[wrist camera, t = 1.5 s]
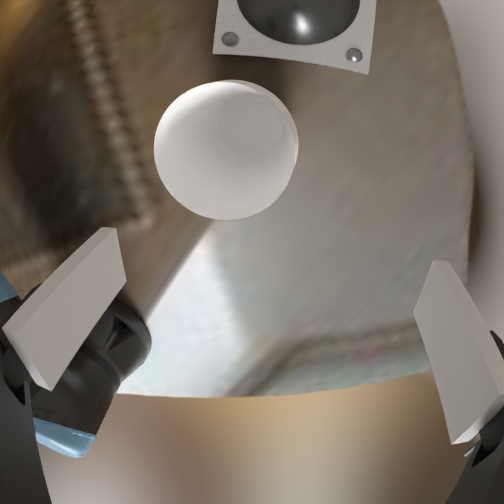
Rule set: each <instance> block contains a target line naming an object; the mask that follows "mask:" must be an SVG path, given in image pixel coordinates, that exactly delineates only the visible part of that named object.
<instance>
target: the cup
mask: <svg viewBox="0 0 504 504" xmlns="http://www.w3.org/2000/svg"><path fill="white" fill-rule="evenodd" d="M297 154H298V135H297V130H296V126H295V123H294V121H293V118H292V116H291V114H290V113H289V111H288V109H287V108H286V107H285V105H284V104H283V103H282V102H281V101H280V100H279V99H278V98H277V97H276V96H275V95H274V94H273V93H271V92H270V91H268V90H267V89H265V88H263V87H261V86H259V85H256V84H254V83H251V82H247V81H242V80H221V81H216V82H213V83H208V84H204V85H200V86H198V87H195V88H193V89H191V90H189V91H187V92H185V93H184V94H182V95H181V96H180V97H178V98H177V99H176V100H175V101H174V102H173V103H172V104H171V105H170V106H169V107H168V109H167V110H166V111H165V113H164V115H163V116H162V118H161V120H160V122H159V125H158V127H157V130H156V135H155V140H154V158H155V163H156V167H157V171H158V173H159V176H160V178H161V180H162V182H163V184H164V185H165V187H166V188H167V190H168V191H169V192H170V194H171V195H172V196H173V197H174V198H175V199H176V200H177V201H178V202H179V203H181V204H182V205H183V206H184V207H186V208H187V209H189V210H191V211H193V212H194V213H197V214H199V215H201V216H204V217H208V218H212V219H217V220H237V219H242V218H246V217H250V216H252V215H255V214H257V213H259V212H261V211H263V210H264V209H266V208H267V207H269V206H270V205H271V204H272V203H274V202H275V201H276V200H277V199H278V197H279V196H280V195H281V194H282V192H283V191H284V189H285V188H286V186H287V184H288V182H289V180H290V178H291V175H292V172H293V168H294V166H295V163H296V159H297Z"/></svg>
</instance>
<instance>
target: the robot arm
mask: <svg viewBox="0 0 504 504" xmlns="http://www.w3.org/2000/svg"><path fill="white" fill-rule="evenodd" d="M126 282H127V280H126V276H125V271H124V267H123V262H122V257H121V252H120V247H119V242H118V237H117V231H116V228H106V227H101V228H100V229H99V230H98V231H97V232H96V233H95V234H93V235H92V236H91V237H90V238H89V239H88V240H87V241H86V242H85V243H84V244H82V245H81V246H80V247H79V248H78V249H77V250H76V251H75V252H74V253H73V254H72V255H71V256H70V257H69V258H68V259H67V260H65V261H64V262H63V263H62V264H61V265H60V266H59V267H58V268H57V269H56V270H55V271H54V272H53V273H52V274H51V275H50V276H49V277H48V278H47V279H46V280H45V281H44V282H43V283H41V284H39V285H38V286H36V287H35V288H33V289H32V290H31V291H30V292H29V293H28V294H27V295H26V296H25V299H22V300H21V299H20V297H19V296H18V295H19V293H18V291H15V290H14V288H13V287H12V286H11V284H10V283H9V282H8V280H7V279H6V278H5V276H4V275H3V274H2V273H1V272H0V504H52V502H51V500H50V496H49V493H48V489H47V485H46V481H45V477H44V473H43V470H42V465H41V460H40V456H39V451H38V446H37V442H39V443H41V444H43V445H45V446H47V447H49V448H51V449H53V450H55V451H57V452H60V453H62V454H64V455H67V456H70V457H75V458H78V457H82V456H84V455H85V454H86V453H87V451H88V449H89V448H90V446H91V444H92V442H93V441H94V439H95V438H96V437H97V436H96V434H97V432H98V430H99V428H100V426H101V424H102V421H103V419H104V417H105V415H106V413H107V411H108V409H109V407H110V405H111V402H112V400H113V398H114V396H115V394H116V392H117V390H118V388H119V386H120V384H121V383H122V382H123V381H124V380H125V379H126V378H127V377H128V376H129V375H131V374H132V373H133V372H134V371H135V370H136V369H137V368H138V367H139V366H141V365H142V364H143V363H144V361H145V360H146V358H147V356H148V354H149V352H150V349H151V338H150V335H149V332H148V330H147V328H146V327H145V325H144V324H143V322H142V321H141V320H140V318H139V317H138V316H137V315H136V314H135V313H134V312H133V311H132V310H131V309H129V308H128V307H127V306H126V305H124V304H123V303H121V302H120V301H118V300H117V299H115V296H116V295H117V294H118V292H119V291H120V290H121V288H122V287H123V286H124V284H125V283H126ZM413 314H414V317H415V319H416V322H417V325H418V328H419V331H420V333H421V336H422V339H423V342H424V345H425V348H426V351H427V354H428V357H429V361H430V364H431V367H432V370H433V374H434V377H435V380H436V384H437V387H438V391H439V395H440V399H441V402H442V406H443V410H444V414H445V418H446V422H447V427H448V431H449V436H450V440H451V444H456V443H461V442H467V441H470V440H471V439H472V438H473V437H474V436H475V435H476V434H477V433H478V432H479V433H480V437H481V439H480V440H479V441H478V442H477V443H476V444H474V446H472V447H471V448H470V449H469V450H468V451H466V453H465V454H464V456H465V457H466V456H467V455H468V454H470V453H471V452H472V451H473V452H472V454H471V456H470V458H469V461H468V462H467V465H466V467H465V468H464V470H463V473H462V474H461V476H460V478H459V480H458V482H457V484H456V486H455V487H454V489H453V491H452V493H451V494H450V496H449V498H448V500H447V501H446V503H445V504H504V344H503V342H502V340H501V339H500V338H499V337H498V336H497V335H496V334H495V333H494V332H493V331H489V329H488V328H487V326H486V324H485V322H484V320H483V318H482V316H481V315H480V313H479V311H478V309H477V308H476V306H475V304H474V302H473V301H472V299H471V297H470V295H469V294H468V292H467V290H466V289H465V287H464V286H463V284H462V282H461V281H460V279H459V278H458V276H457V274H456V273H455V271H454V270H453V268H452V267H451V265H450V264H449V262H448V261H440V260H433V261H432V264H431V267H430V270H429V273H428V275H427V278H426V281H425V283H424V286H423V289H422V291H421V294H420V296H419V299H418V301H417V304H416V306H415V308H414V311H413Z"/></svg>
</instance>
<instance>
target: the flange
mask: <svg viewBox="0 0 504 504" xmlns="http://www.w3.org/2000/svg"><path fill="white" fill-rule="evenodd" d="M375 11H376V0H219V2H218V10H217V18H216V27H215V36H214V45H213V54H215V55H234V56H250V57H262V58H272V59H281V60H289V61H296V62H303V63H309V64H316V65H321V66H327V67H332V68H337V69H342V70H347V71H351V72H356V73H360V74H364V75H368V72H369V65H370V57H371V49H372V40H373V31H374V21H375Z"/></svg>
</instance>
